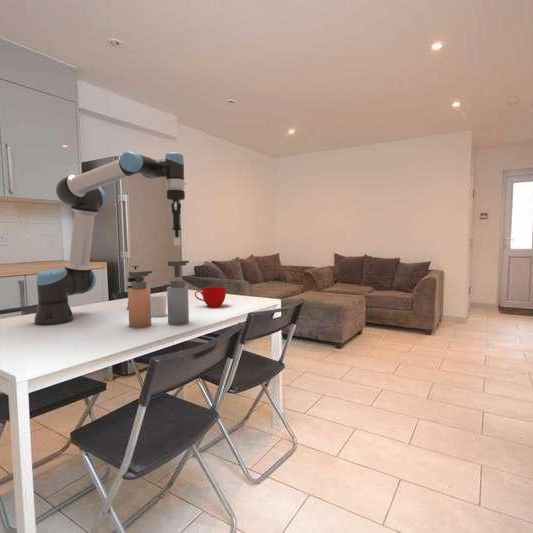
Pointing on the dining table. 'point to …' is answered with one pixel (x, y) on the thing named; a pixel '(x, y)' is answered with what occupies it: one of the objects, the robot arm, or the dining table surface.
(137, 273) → the grey dispenser pump
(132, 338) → the dining table surface
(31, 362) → the dining table surface
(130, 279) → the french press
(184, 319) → the slate pump bottle
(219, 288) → the ceramic cup
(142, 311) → the terracotta pump bottle
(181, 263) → the slate pump head
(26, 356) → the dining table surface
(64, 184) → the robot arm
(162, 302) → the white cup
